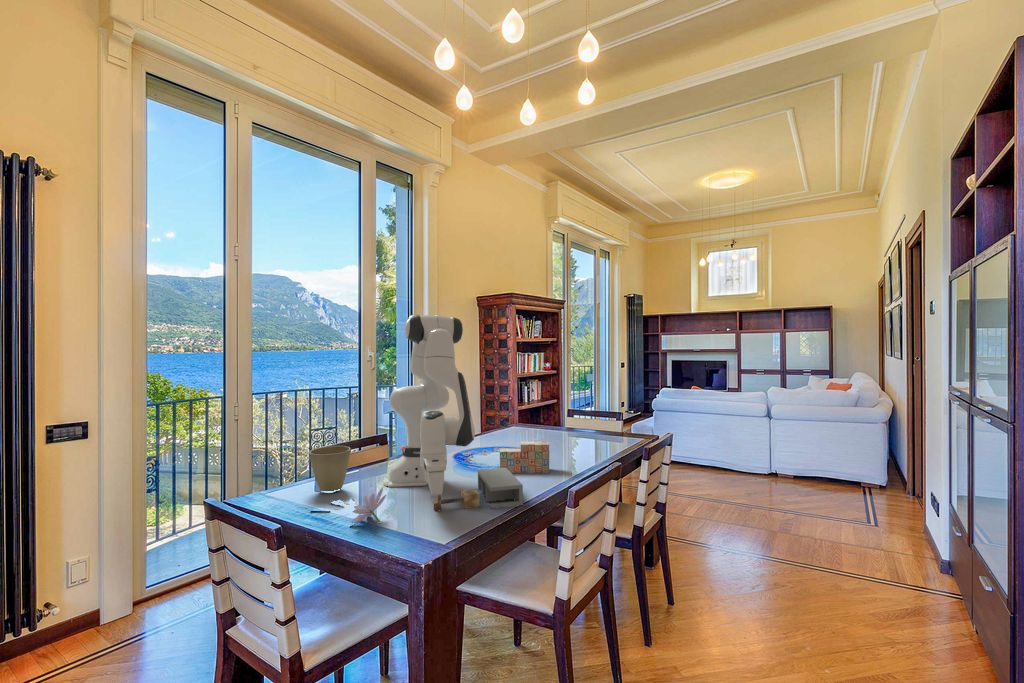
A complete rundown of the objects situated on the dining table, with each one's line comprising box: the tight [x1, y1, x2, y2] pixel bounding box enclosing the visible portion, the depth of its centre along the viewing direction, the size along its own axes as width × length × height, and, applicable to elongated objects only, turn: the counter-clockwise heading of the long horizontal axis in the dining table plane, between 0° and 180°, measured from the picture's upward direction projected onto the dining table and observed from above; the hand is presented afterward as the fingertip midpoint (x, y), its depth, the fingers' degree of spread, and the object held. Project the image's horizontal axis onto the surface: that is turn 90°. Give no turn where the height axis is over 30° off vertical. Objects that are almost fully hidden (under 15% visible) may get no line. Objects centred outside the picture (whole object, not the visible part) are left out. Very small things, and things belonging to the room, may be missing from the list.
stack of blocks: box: [499, 440, 550, 474], centre depth 220 cm, size 21×6×12 cm, turn 88°
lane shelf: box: [477, 467, 524, 509], centre depth 185 cm, size 11×25×7 cm, turn 14°
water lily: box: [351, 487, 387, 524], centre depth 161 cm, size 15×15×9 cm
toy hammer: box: [433, 489, 480, 512], centre depth 174 cm, size 15×5×7 cm, turn 111°
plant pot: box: [309, 445, 351, 491], centre depth 196 cm, size 15×15×16 cm
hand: (434, 501), depth 171 cm, fingers closed on toy hammer, 3 cm apart
